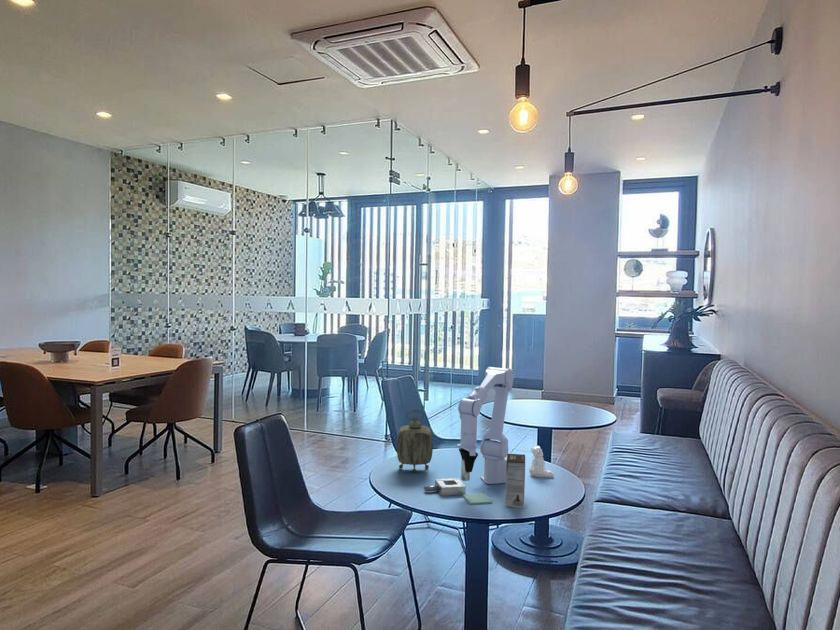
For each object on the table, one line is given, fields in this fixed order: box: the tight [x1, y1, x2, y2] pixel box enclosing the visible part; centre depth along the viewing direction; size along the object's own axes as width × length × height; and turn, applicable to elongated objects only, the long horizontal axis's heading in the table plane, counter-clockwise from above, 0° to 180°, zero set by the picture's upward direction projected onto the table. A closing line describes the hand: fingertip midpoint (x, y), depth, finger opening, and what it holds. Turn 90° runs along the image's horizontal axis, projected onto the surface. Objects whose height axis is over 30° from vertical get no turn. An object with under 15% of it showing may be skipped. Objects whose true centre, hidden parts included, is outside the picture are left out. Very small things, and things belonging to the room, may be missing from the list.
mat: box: [462, 492, 493, 506], centre depth 191 cm, size 8×8×1 cm
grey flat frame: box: [423, 477, 467, 497], centre depth 199 cm, size 14×9×3 cm, turn 104°
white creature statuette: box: [528, 445, 555, 479], centre depth 220 cm, size 10×9×12 cm
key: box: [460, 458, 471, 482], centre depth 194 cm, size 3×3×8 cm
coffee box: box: [505, 453, 526, 509], centre depth 189 cm, size 9×6×16 cm
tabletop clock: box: [396, 409, 434, 474], centre depth 221 cm, size 14×9×25 cm, turn 92°
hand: (467, 470), depth 194 cm, fingers closed on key, 3 cm apart
